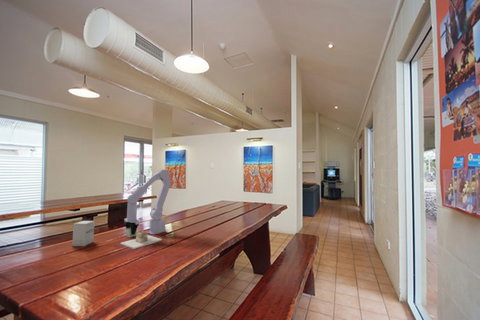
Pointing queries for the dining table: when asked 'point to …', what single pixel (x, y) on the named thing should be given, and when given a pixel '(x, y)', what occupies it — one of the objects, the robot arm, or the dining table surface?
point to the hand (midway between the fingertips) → (131, 233)
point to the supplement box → (83, 233)
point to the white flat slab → (135, 244)
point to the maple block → (141, 236)
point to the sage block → (129, 233)
